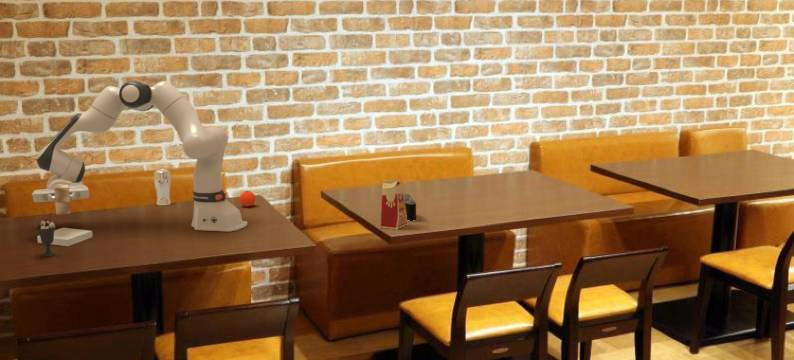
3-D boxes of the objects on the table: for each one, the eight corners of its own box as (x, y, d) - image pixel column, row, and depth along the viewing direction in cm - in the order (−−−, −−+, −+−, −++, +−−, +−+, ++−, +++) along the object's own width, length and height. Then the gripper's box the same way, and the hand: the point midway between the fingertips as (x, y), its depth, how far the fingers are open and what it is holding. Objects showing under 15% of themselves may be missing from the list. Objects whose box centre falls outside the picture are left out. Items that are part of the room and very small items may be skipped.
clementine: (237, 205, 418) (236, 189, 416) (252, 203, 421) (252, 188, 419) (242, 209, 411) (241, 192, 409) (257, 207, 414) (257, 191, 412)
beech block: (69, 210, 362) (67, 184, 360) (70, 213, 357) (68, 187, 355) (55, 211, 360) (53, 185, 358) (56, 214, 356) (54, 188, 354)
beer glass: (167, 206, 416) (165, 172, 414) (152, 205, 418) (151, 171, 415) (174, 202, 423) (172, 169, 420) (159, 201, 425) (158, 168, 422)
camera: (423, 219, 391) (423, 196, 389) (410, 222, 387) (410, 198, 385) (403, 213, 403) (403, 189, 401) (390, 215, 399) (390, 191, 397)
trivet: (92, 237, 365) (92, 230, 364) (67, 246, 352) (67, 239, 351) (63, 233, 370) (63, 227, 369) (37, 242, 357) (37, 236, 356)
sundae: (62, 252, 344) (59, 212, 341) (49, 257, 337) (46, 216, 334) (47, 251, 346) (44, 210, 343) (34, 255, 339) (31, 215, 336)
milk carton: (407, 225, 382) (407, 176, 378) (397, 230, 374) (397, 180, 370) (387, 222, 386) (386, 174, 382) (377, 228, 378) (376, 178, 374)
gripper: (30, 185, 365) (32, 192, 352) (86, 181, 372) (89, 188, 360) (31, 201, 366) (33, 209, 353) (87, 197, 374) (90, 204, 361)
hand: (62, 198), depth 357 cm, fingers closed on beech block, 5 cm apart
